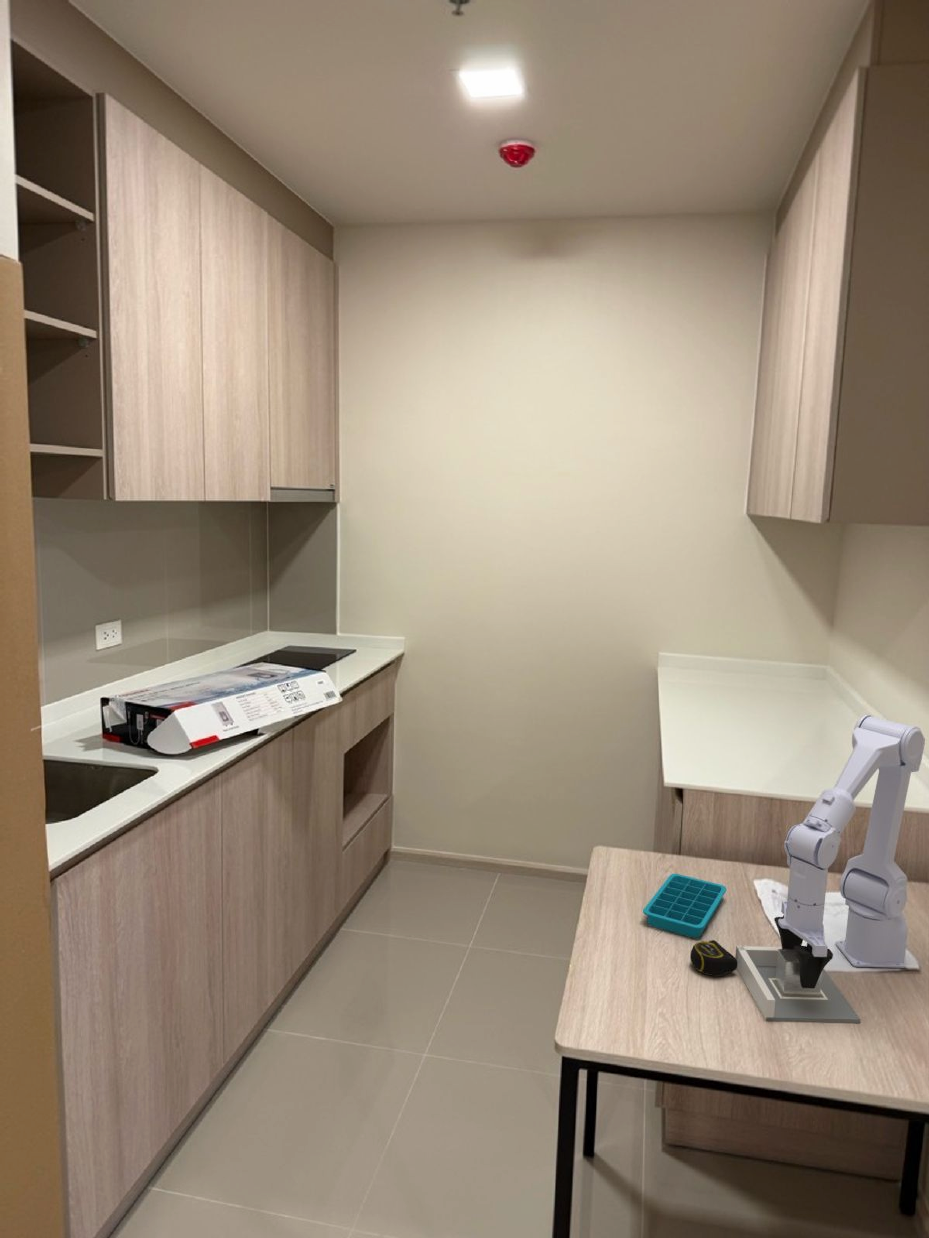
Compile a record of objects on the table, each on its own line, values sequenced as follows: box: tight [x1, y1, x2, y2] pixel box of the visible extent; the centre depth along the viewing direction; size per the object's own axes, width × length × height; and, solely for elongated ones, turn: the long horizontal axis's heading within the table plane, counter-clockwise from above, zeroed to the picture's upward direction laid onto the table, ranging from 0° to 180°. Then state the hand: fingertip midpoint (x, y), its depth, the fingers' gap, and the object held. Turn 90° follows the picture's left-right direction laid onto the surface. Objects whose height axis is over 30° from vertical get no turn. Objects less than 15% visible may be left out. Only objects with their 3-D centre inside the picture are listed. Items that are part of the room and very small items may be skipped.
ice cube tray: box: [642, 873, 727, 939], centre depth 172 cm, size 12×20×3 cm, turn 150°
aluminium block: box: [775, 949, 822, 997], centre depth 145 cm, size 4×6×6 cm, turn 90°
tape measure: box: [690, 939, 737, 977], centre depth 152 cm, size 7×7×4 cm
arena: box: [734, 945, 862, 1024], centre depth 145 cm, size 15×16×4 cm
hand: (798, 973), depth 145 cm, fingers open, 7 cm apart
